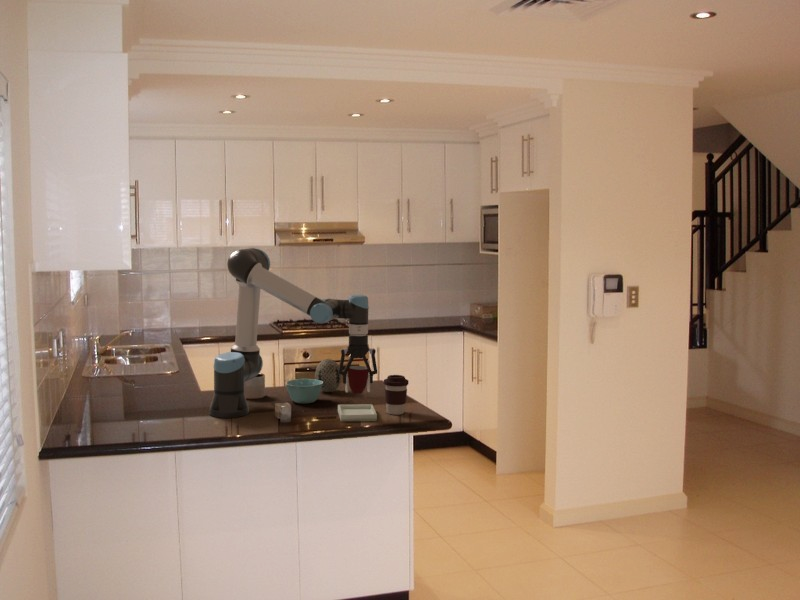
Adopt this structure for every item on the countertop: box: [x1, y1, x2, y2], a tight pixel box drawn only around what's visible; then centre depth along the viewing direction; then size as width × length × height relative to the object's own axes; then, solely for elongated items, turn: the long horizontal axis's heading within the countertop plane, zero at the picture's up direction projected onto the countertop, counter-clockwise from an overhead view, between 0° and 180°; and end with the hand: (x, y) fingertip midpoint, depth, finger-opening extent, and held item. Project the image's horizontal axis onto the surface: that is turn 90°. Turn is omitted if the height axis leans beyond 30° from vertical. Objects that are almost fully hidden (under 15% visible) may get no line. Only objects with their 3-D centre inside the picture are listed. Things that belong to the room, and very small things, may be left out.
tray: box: [337, 403, 378, 422], centre depth 325 cm, size 14×17×2 cm
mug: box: [347, 365, 369, 395], centre depth 323 cm, size 10×8×10 cm
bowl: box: [285, 378, 323, 404], centre depth 347 cm, size 16×16×8 cm
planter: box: [244, 372, 266, 400], centre depth 353 cm, size 11×11×10 cm
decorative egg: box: [314, 358, 342, 393], centre depth 365 cm, size 12×12×15 cm
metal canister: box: [279, 404, 292, 424], centre depth 314 cm, size 4×4×6 cm
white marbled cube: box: [274, 402, 291, 419], centre depth 320 cm, size 5×5×5 cm
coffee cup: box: [383, 374, 409, 416], centre depth 330 cm, size 10×10×15 cm
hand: (357, 391), depth 324 cm, fingers closed on mug, 8 cm apart
